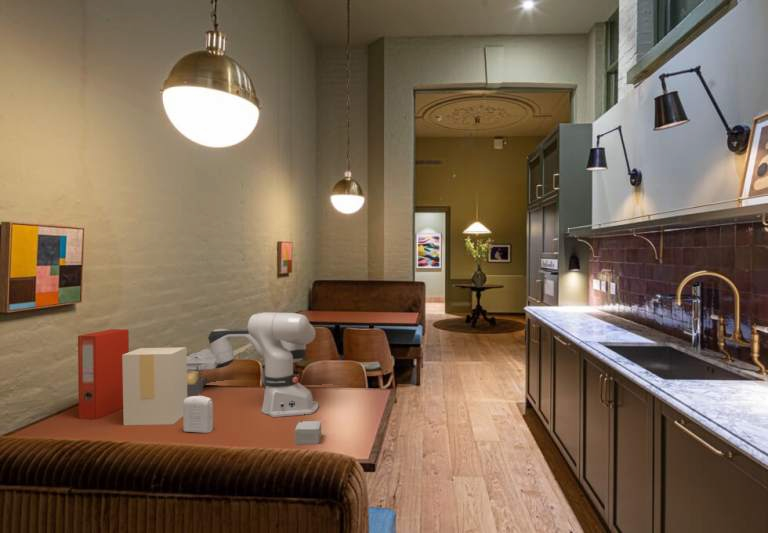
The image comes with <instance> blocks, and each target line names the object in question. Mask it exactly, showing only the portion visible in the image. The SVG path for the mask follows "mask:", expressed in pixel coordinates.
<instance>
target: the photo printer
mask: <svg viewBox="0 0 768 533" xmlns="http://www.w3.org/2000/svg"><path fill="white" fill-rule="evenodd" d="M182 418H183V422H182V423H183V432H185V433H186V432H190V433H205V434H207V433H208V434H209V433H211V432H212V431H213V427H214V402H213V399H212V398H210V397H207V396H204V395H198V396H187V398H185V400H184V403H183V417H182Z"/></svg>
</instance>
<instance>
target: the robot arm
mask: <svg viewBox="0 0 768 533" xmlns="http://www.w3.org/2000/svg"><path fill="white" fill-rule="evenodd" d="M316 334H317V333H316V329H315V327H314V325H312V324H311V323H310V320H309V319H308V317H307V316H306V315H304V314H300V313H296V312H274V311H273V312H268V311H267V312H265V311H264V312H259V313H254V314H253V315H251V316H250V318H249V319H248V321H247V328H240V329H239V328H236V329H235V328H231V329H230V328H216V329H213V330H211V331H210V333H209V334H208V336H207V338H208V341H209V342H208V343H209V344H210V347H207V348H204V349H202V350H200V351H198V352H195V353H191V354H187V371H193V372H197V373H199V372H203V371H205V370H208V371H209V370H214V369H221V368H225V367H227V366H230V365H231V364H232V363H233V362H234V360H235V355H234V354H235V353H234V349H233V345H232V341H231V339H239V338H240V339H246V340H248V341H249V342H250V344H251V346H252V347H253V348H254V350H255V351H256V353H257V354H259V355H260V356H262V358H264V375H263V389H264V394H263V395H264V396H263V397H264V398H263V403H262V407H261V410H260V411H261V412H262V413H263V414H265V415H269V416H270V417H274V418H278V417H279V418H280V417H291V416H293V417H294V416H302V415H303V416H304V414H305V415H312V414H314V413H315V411H316V412H317V411H318V410H319V407H318V406H319V403H318V402H317V401H315V400H314V399H313V394H312V392H311V390H310V389H308V388H307V387H305V386H304V385H303V384H302V383H300V382H299V374H296V373H295V372H294V363H298V362H300V361H302V360H304V359H305V358H306V357H307V349H306V347H307V346H306V345H308V344H310V343H312V342H314V340H315V338H316ZM317 409H318V410H317Z"/></svg>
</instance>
